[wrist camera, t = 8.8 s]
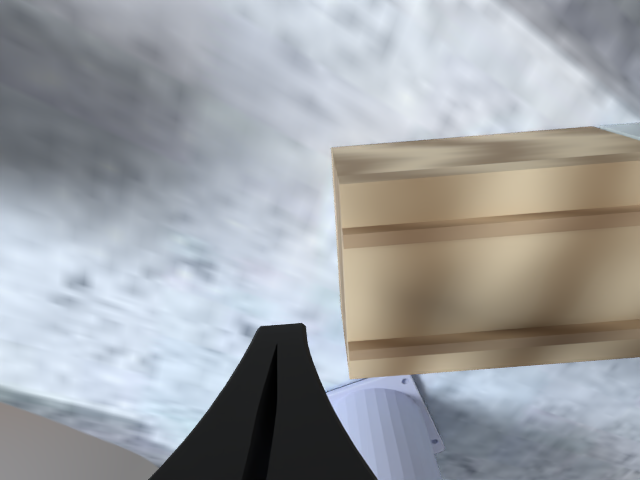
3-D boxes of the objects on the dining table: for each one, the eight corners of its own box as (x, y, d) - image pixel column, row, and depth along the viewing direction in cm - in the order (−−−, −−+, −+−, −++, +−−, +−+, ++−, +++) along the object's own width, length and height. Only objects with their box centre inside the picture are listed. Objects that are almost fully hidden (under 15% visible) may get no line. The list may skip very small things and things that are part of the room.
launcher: (340, 308, 24) (350, 389, 18) (331, 147, 19) (340, 189, 14) (632, 286, 24) (731, 360, 18) (693, 118, 19) (850, 149, 14)
